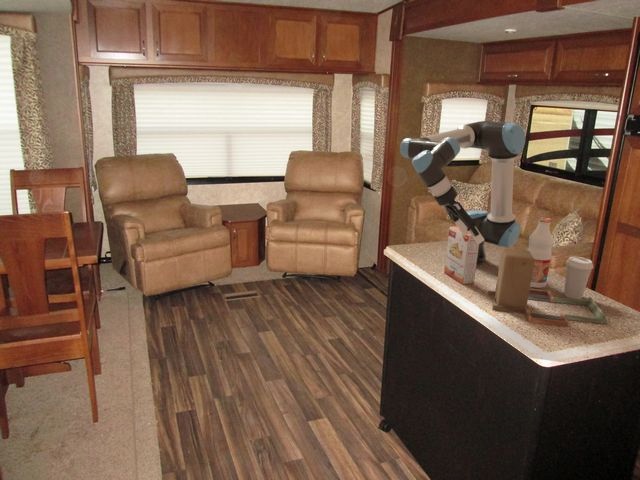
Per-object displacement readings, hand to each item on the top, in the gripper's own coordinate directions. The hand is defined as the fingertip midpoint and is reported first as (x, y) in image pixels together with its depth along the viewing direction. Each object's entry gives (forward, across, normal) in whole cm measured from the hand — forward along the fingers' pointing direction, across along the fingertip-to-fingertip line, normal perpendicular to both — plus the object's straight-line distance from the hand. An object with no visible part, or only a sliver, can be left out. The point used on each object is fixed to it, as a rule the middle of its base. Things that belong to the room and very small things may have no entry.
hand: (473, 238), depth 179 cm
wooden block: (+29, +2, -3) cm, 29 cm away
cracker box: (+21, -24, -10) cm, 33 cm away
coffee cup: (+46, -5, +21) cm, 51 cm away
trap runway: (+35, +5, +6) cm, 36 cm away
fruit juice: (+39, -18, +13) cm, 45 cm away
